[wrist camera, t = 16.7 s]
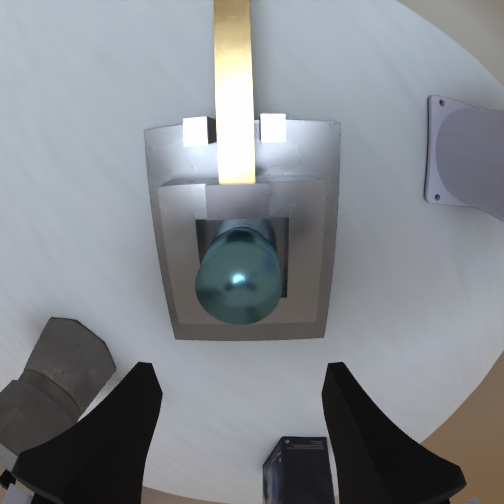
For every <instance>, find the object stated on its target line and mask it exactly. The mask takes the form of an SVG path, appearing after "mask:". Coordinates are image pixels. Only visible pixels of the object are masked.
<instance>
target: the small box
mask: <svg viewBox="0 0 504 504" xmlns="http://www.w3.org/2000/svg"><path fill="white" fill-rule="evenodd" d="M263 504H335V497H334V490H333V483H332V475H331V469H330V462H329V454H328V446H327V438H293V437H282V438H281V440H280V441H279V443H278V444H277V446H276V447H275V449H274V450H273V452H272V453H271V455H270V456H269V458H268V459H267V461H266V462H265V463H264V465H263Z"/></svg>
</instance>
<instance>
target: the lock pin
mask: <svg viewBox="0 0 504 504" xmlns="http://www.w3.org/2000/svg"><path fill="white" fill-rule="evenodd" d="M214 53H215V94H216V123H217V146H218V167H219V177H213V178H212V179H211V180H210V181H209V182H208V183H207V184H206V185H205V197H206V210H207V221H209V220H240V219H270V215H269V181H268V178H267V176H255V152H254V118H253V86H252V55H251V26H250V0H214Z"/></svg>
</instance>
